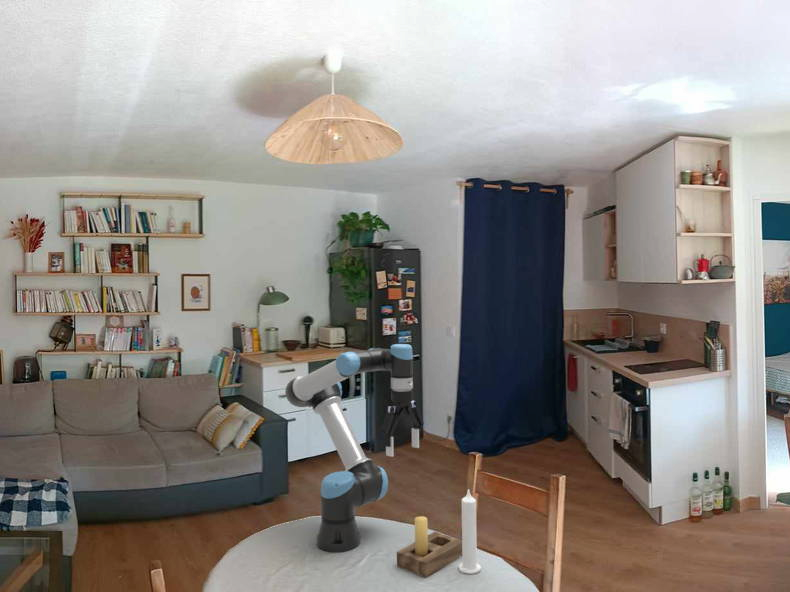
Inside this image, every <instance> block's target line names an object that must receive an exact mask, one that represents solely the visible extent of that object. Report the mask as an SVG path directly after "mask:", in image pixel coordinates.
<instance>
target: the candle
mask: <svg viewBox="0 0 790 592" xmlns="http://www.w3.org/2000/svg"><path fill="white" fill-rule="evenodd" d="M461 540H462V556H461V557H462V558H461V559H462V561H461V562H460V563H459V564H458V567H457V568H458V570H459V572H461V573H463V574H466V575H475V574H478V573H480V572H481V570H482V566H481V565H480V564H479V563H478V556H477V555H478V550H477V549H478V548H477V545H478V544H477V500H476V498H474V497H473V496H472V495H471V491H470V489H467V493H466V495H465V496H464V497H463V498H461Z"/></svg>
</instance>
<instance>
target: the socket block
mask: <svg viewBox="0 0 790 592" xmlns="http://www.w3.org/2000/svg"><path fill="white" fill-rule="evenodd" d="M460 556H461V557H462V539H458V538H455V537H453V536H449V535H447V534H444V533H441V532H437V531H433V532H432V533H430V534H428V555H426V556H424V557H420V556H418V555H415V541H414V542H412V543H411V544H408V545H407V546H405V547H402V548H401V549H399V550H398V551H396V567H399V568H401V569H404V570H406V571H409V572H410V573H411V572H412V573H414V574H417V575H419V576H421V577H424V578H426V579H427V578H429V577H431V576H432V575H433V574H435V573H437V572H438V571H440V570H442V569H443V568H445V567H446V566H448V565H450V564H451V563H452V561H453V562H454V561H456V560H457V558H458V559H459V558H461V557H460ZM455 559H456V560H455Z"/></svg>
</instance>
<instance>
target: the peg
mask: <svg viewBox="0 0 790 592" xmlns="http://www.w3.org/2000/svg"><path fill="white" fill-rule="evenodd" d="M428 535H429V534H428V517H426V516H423V515H422V516H416V517H414V542H415V555H418V556H420V557H424V556H426V555H428Z"/></svg>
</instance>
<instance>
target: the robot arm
mask: <svg viewBox="0 0 790 592" xmlns="http://www.w3.org/2000/svg"><path fill="white" fill-rule="evenodd" d="M413 359H414V355H413V347H412V345H410V344H407V343H396V344H392V345H391V346H390V349H389V348H388V349H387V348H380V347H377V348H376V347H374V348H372V347H371V348H369V349H367V350H357V351H346V352H342V353H340V354H339V355H337V358H336V359H335V360H334V361H332V362H329V363H328V364H326V365H324V366H322V367H320V368H318V369H316V370H314V371H312V372H310V373H308V374H306V375H299V376H296V377H295V378H293V379H291V380H290V381H289V382H288V383H287V384H286V387H285V391H284V392H285V396H286V399H287V401H288V402H289V403H290V404H291V405H293V406H294V407H297V408H306V407H311V408H312V409H313V411H314V413H315V414H316V415H320V418H321V420H322V422H323V423H324V426H325V428H326V431H327V432H328V434H329V436H330V439H331V441H332V443H333V445H334V447H335V449H336V451H337V454H338V456H339V458H340V459H341V461H342V465H343V466H344V467H345V470H341V471H335V472H331V473H329V474H327V475H326V476H324V477H323V478H322V480H321V487H320V497H321V499H320V501H321V503H320V505H321V507H320V508H321V521H320V522H321V523H320V525H319V529H318V533H317V535H316V545H317V548H319V549H321V550H323V551H326V552H331V553H332V552H333V553H337V552H339V553H340V552H346V551H351V550H352V549H355V548H357V547H358V546H359V545H360V544H361V533H360V531H359V528H358V524H357V521H356V517H355V516H356V511H355V510H356V509H357V508H360V507H363V506H365V505H368V504H371V503H375V502H377V501H379V500H380V499H382V498H384V497H385V495H386V494H387V492H388V486H389V478H388V474H387V472H386V471H385V469H384V468H383V467H381V466H379V465H375V463H374V462H373V460H372V459H371V458H368V457H367V456H366V454H365V453H364V450H363V449H362V446H361V445H360V443H359V441H358V439H357V436H356V435H355V432H354V430H353V429H352V428H353V427H352V426H351V424H350V422H349V420H348V418H347V416H346V414H345V412H344V410H343V408H342V406H341V402H342V395H343V390H342V389H343V387H342V383H341V382H343V381H346V379H349V378H352V377H353V376H355V375H358V374H362V373H368V372H369V373H370V372H377V371H388V372H390V389H391V391H390V392H391V393H390V399H391V401H392V403H393V404H392V406H389V405H387V406H386V409H385V410H386V412H385V414H384V415H385V417H384V419H383V422H382V426H381V430H380V431H379V434H380V436H381V437H382V436H383V437H384V447H385V455H386V457H387V456H388V457H391V458H392V457H394V456H395V455H394V449H395V448H394V436H393V434H394V432H395V430H396V427H397V425H398V423H399V421H400V420H401V419H402V418H407V420H408V421H409V423H410V424H411V425H412V428H411V448H415V449H416V448H417V449H419V448H420V430H421V429H423V427H424V421H423V417H422V415H421V412H420V410H419V405H418V403H419V402H418V401H417V400H414V391H413V389H414V381H413V380H414V379H413V378H414V377H413V376H414V375H413V373H414V372H413V368H414V367H413V362H414V361H413Z"/></svg>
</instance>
